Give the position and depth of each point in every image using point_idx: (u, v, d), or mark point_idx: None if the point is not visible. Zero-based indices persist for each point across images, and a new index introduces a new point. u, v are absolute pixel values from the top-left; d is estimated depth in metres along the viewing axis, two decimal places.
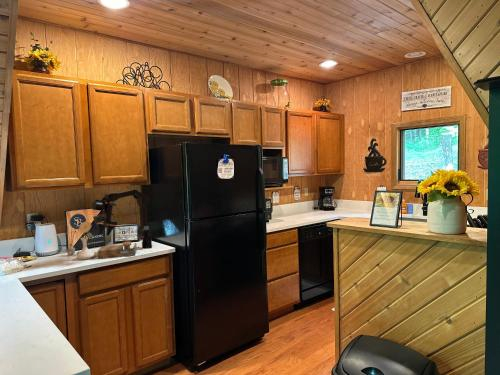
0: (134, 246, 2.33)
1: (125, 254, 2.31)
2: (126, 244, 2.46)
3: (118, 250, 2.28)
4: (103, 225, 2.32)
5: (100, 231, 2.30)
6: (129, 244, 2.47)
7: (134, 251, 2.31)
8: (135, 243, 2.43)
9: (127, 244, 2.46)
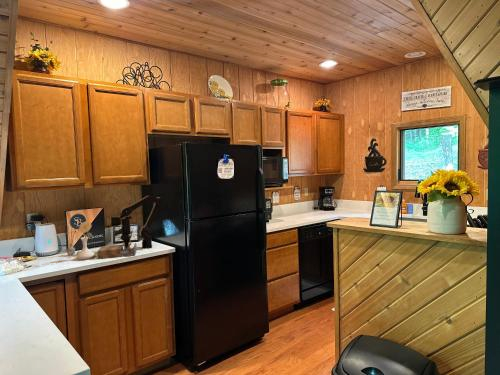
0: (134, 246, 2.33)
1: (125, 254, 2.31)
2: None
3: (118, 250, 2.28)
4: None
5: None
6: (129, 244, 2.47)
7: (134, 251, 2.31)
8: (135, 243, 2.43)
9: None
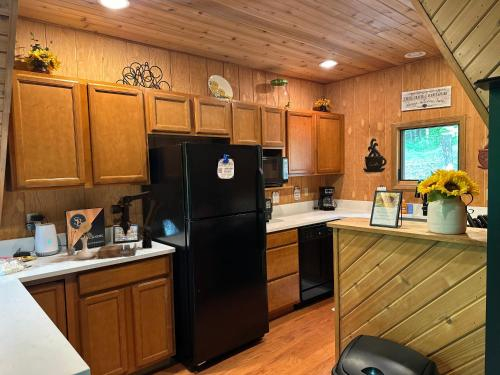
0: (134, 246, 2.33)
1: (125, 254, 2.31)
2: None
3: (118, 250, 2.28)
4: (129, 225, 2.47)
5: None
6: (128, 232, 2.41)
7: (134, 251, 2.31)
8: (135, 243, 2.43)
9: None
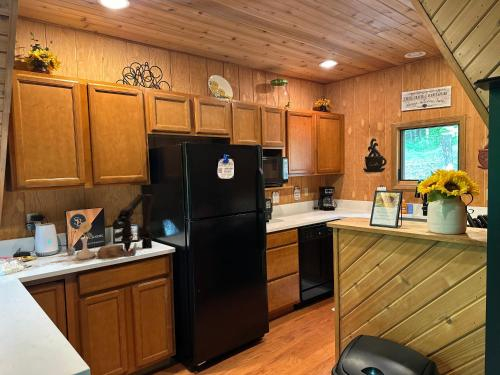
0: (134, 246, 2.33)
1: (125, 254, 2.31)
2: (127, 251, 2.34)
3: (118, 250, 2.28)
4: (130, 239, 2.41)
5: None
6: (130, 251, 2.35)
7: (134, 251, 2.31)
8: (135, 243, 2.43)
9: (128, 251, 2.34)
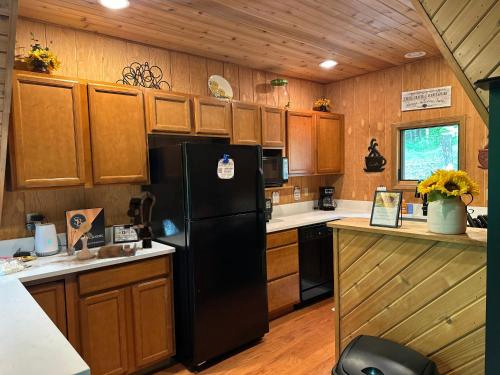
0: (134, 246, 2.33)
1: (125, 254, 2.31)
2: (127, 251, 2.34)
3: (118, 250, 2.28)
4: (139, 229, 2.36)
5: None
6: (130, 251, 2.35)
7: (134, 251, 2.31)
8: (135, 243, 2.43)
9: (129, 251, 2.34)
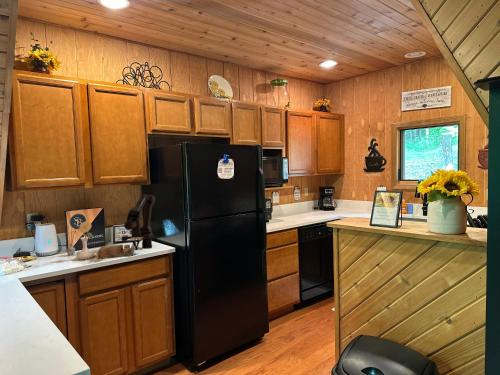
0: (132, 246, 2.33)
1: (123, 254, 2.31)
2: (125, 251, 2.33)
3: (118, 250, 2.28)
4: (137, 241, 2.36)
5: (136, 246, 2.38)
6: (128, 251, 2.35)
7: (132, 251, 2.30)
8: None
9: (127, 251, 2.34)
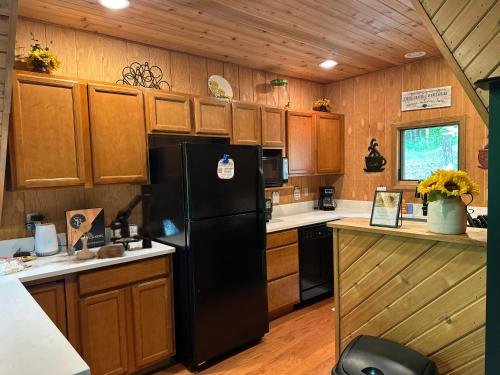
0: (121, 247, 2.31)
1: None
2: None
3: (118, 250, 2.28)
4: (126, 242, 2.34)
5: None
6: None
7: (121, 252, 2.29)
8: None
9: None
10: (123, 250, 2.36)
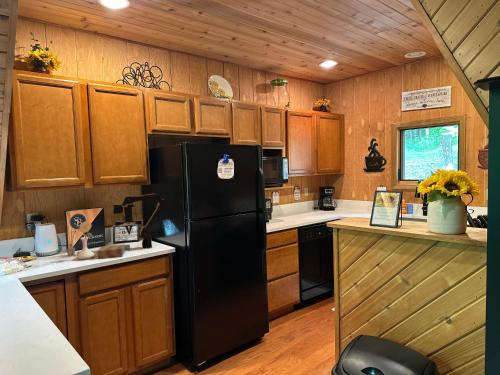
0: (122, 247, 2.31)
1: None
2: None
3: (118, 250, 2.28)
4: None
5: None
6: None
7: (121, 252, 2.29)
8: (123, 244, 2.41)
9: None
10: (123, 250, 2.36)
